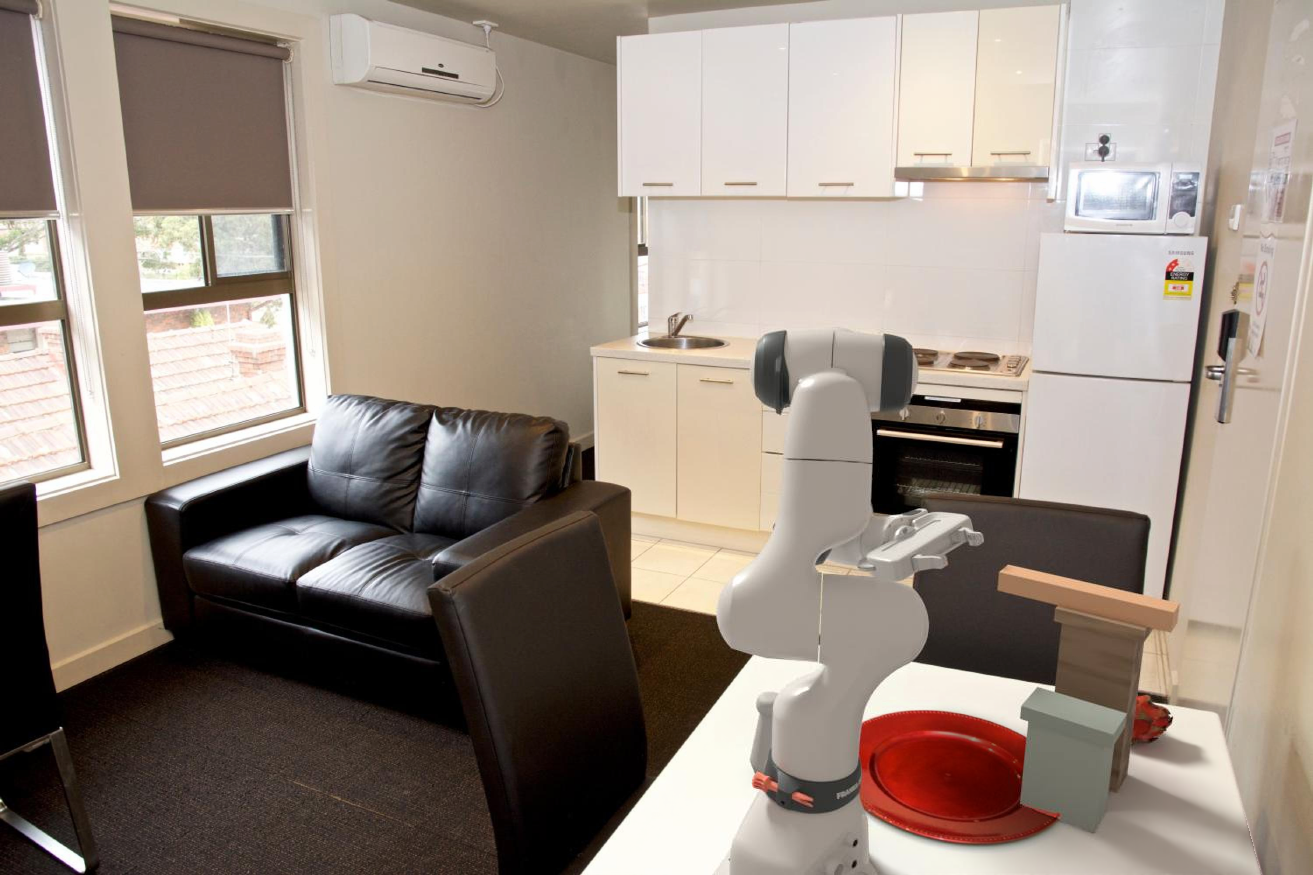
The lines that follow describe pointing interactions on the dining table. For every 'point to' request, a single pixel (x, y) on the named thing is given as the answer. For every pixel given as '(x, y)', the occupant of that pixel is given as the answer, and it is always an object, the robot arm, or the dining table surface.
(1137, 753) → the dining table surface
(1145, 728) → the dragon fruit
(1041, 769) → the low stand
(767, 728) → the salt shaker
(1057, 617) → the tall stand
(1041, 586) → the bar
